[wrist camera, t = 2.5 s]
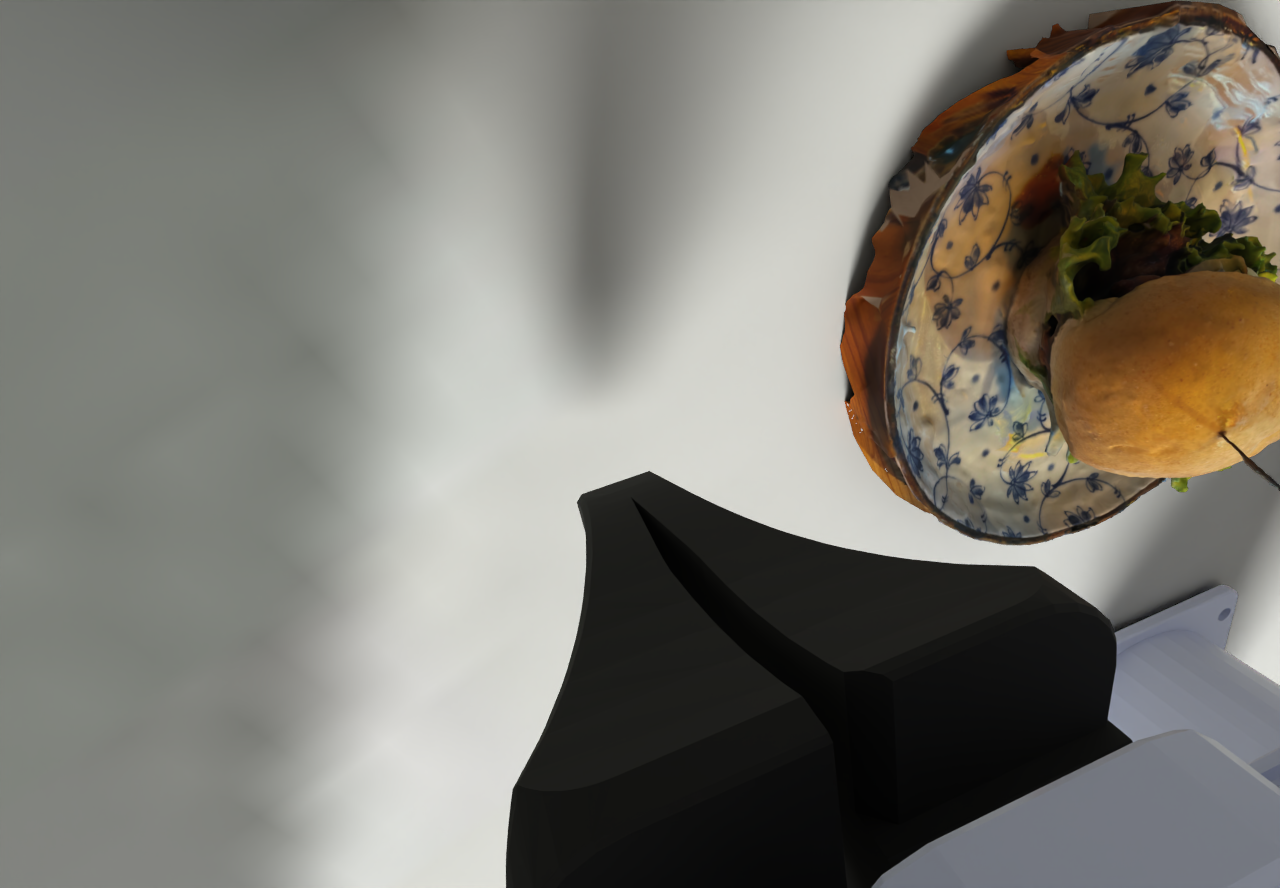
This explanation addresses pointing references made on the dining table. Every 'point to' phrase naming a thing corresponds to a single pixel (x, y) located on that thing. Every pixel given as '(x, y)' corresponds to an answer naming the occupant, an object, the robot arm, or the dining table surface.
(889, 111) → the dining table surface
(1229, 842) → the robot arm
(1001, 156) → the burger
